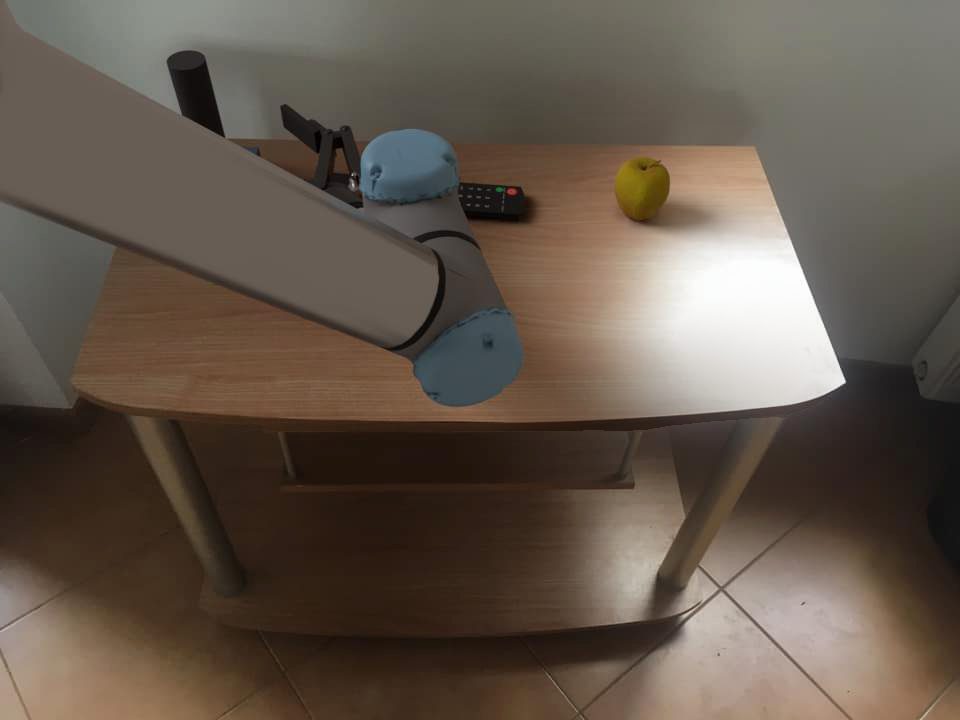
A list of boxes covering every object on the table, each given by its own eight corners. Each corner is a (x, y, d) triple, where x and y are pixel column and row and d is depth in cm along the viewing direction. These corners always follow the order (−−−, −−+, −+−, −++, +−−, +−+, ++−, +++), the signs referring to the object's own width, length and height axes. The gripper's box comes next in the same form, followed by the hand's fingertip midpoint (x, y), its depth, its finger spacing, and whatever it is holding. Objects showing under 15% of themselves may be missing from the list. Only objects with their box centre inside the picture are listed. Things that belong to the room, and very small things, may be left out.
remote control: (333, 181, 98) (332, 172, 97) (524, 195, 98) (525, 187, 97) (325, 208, 95) (323, 199, 94) (523, 223, 94) (524, 214, 93)
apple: (672, 218, 96) (688, 164, 90) (633, 236, 94) (646, 182, 87) (638, 190, 99) (651, 136, 93) (599, 207, 97) (609, 152, 91)
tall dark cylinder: (198, 191, 94) (161, 68, 82) (206, 170, 97) (172, 49, 85) (231, 192, 94) (199, 70, 82) (239, 172, 97) (209, 51, 85)
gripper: (243, 328, 72) (133, 214, 82) (447, 215, 84) (330, 125, 93) (226, 270, 67) (110, 153, 76) (447, 156, 78) (322, 67, 87)
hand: (231, 138), depth 85 cm, fingers open, 13 cm apart
